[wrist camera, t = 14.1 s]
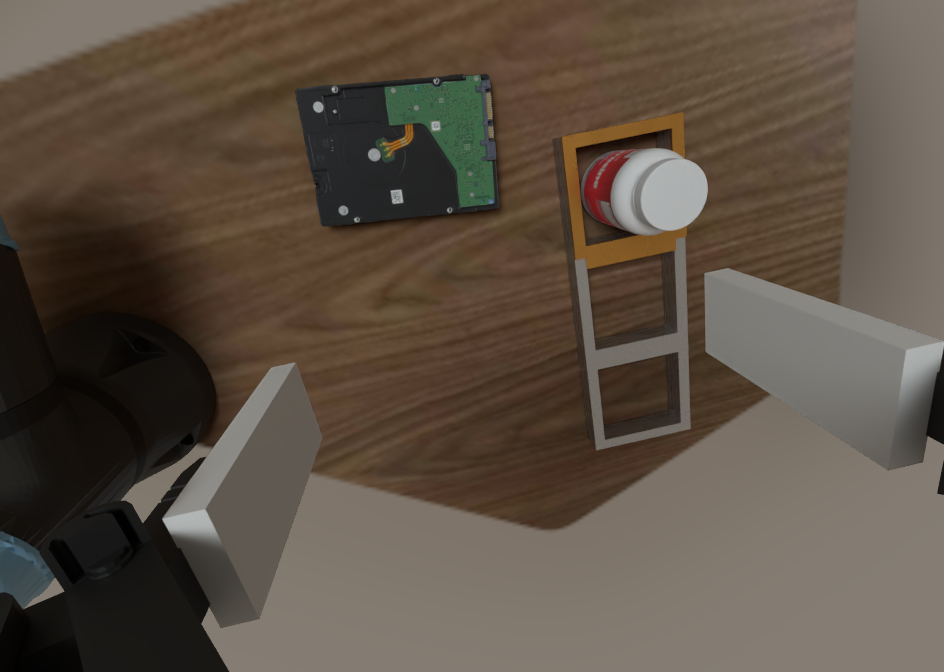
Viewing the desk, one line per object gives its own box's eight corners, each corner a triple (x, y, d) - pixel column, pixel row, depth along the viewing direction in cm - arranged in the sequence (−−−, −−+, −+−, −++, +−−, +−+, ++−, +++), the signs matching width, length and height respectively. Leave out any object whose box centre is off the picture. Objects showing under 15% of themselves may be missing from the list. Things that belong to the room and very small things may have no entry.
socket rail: (588, 437, 51) (597, 452, 48) (552, 138, 40) (561, 137, 37) (678, 416, 51) (692, 430, 48) (666, 115, 40) (683, 112, 38)
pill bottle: (625, 135, 41) (696, 125, 30) (657, 196, 43) (733, 206, 32) (565, 179, 41) (614, 184, 31) (599, 237, 43) (655, 259, 33)
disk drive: (328, 225, 41) (496, 206, 42) (321, 230, 39) (501, 209, 39) (300, 93, 38) (485, 74, 38) (291, 87, 35) (490, 68, 36)
